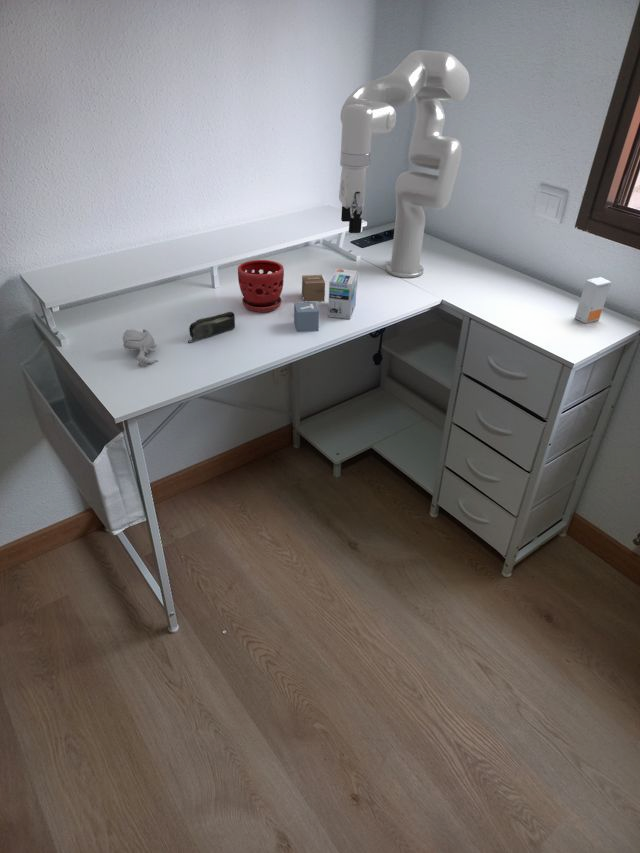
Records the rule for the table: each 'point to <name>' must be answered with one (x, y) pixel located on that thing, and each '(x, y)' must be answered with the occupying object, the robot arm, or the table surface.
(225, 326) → the dark green pouch
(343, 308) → the light bulb box
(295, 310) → the slate digit block
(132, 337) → the toy character
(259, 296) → the plant pot
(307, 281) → the walnut digit block
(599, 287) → the skincare box
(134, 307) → the table surface
